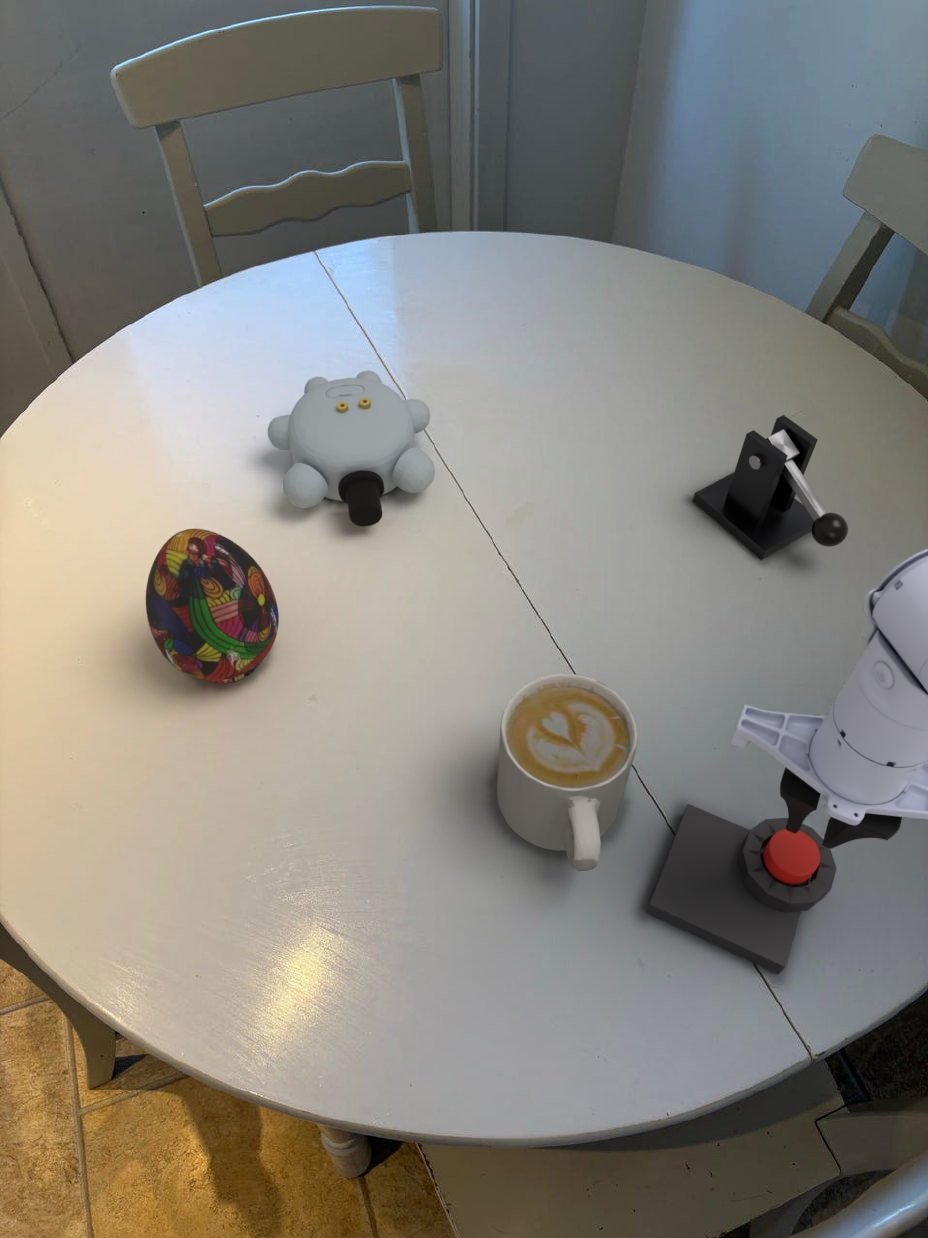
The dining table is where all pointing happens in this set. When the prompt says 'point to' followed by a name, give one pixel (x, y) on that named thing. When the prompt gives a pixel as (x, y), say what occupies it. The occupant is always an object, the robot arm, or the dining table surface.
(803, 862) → the button
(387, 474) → the figurine
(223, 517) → the dining table surface
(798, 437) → the bracket
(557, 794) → the coffee mug
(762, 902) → the button block
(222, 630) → the egg
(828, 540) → the lever
